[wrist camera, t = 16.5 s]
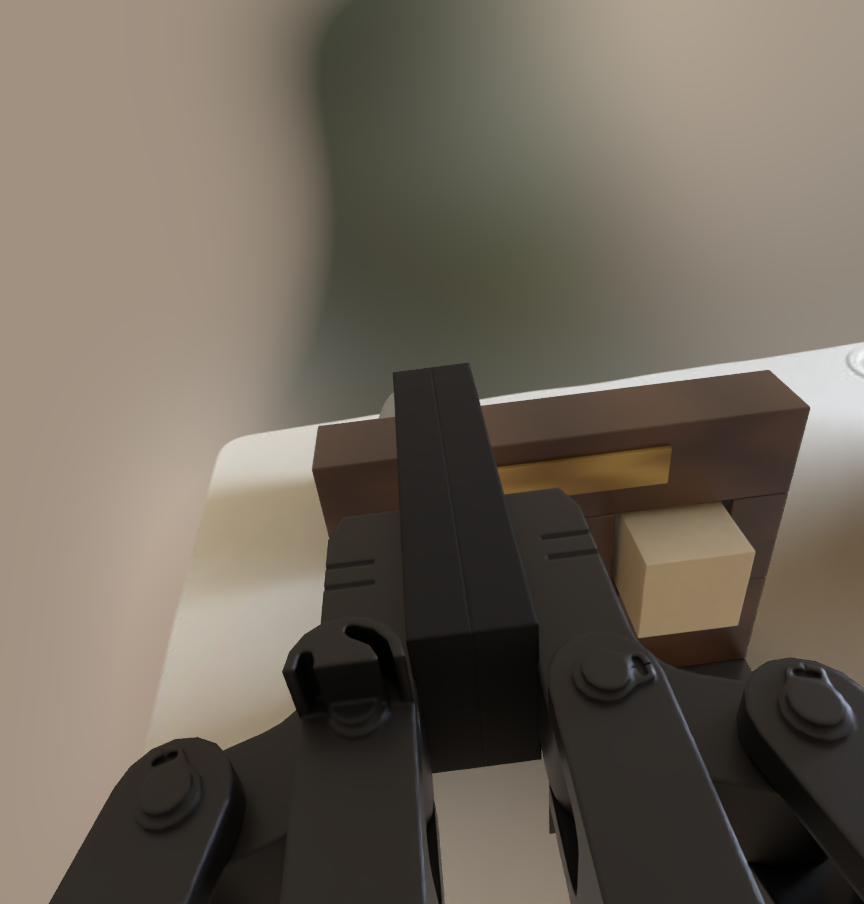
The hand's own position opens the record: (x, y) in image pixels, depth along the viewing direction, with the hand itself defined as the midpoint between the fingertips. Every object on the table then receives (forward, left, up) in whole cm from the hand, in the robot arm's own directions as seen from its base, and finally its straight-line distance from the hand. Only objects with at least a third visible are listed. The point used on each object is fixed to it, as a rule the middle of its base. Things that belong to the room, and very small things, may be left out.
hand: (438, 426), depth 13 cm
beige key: (-9, -7, -14) cm, 18 cm away
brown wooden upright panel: (-5, -9, -21) cm, 24 cm away
